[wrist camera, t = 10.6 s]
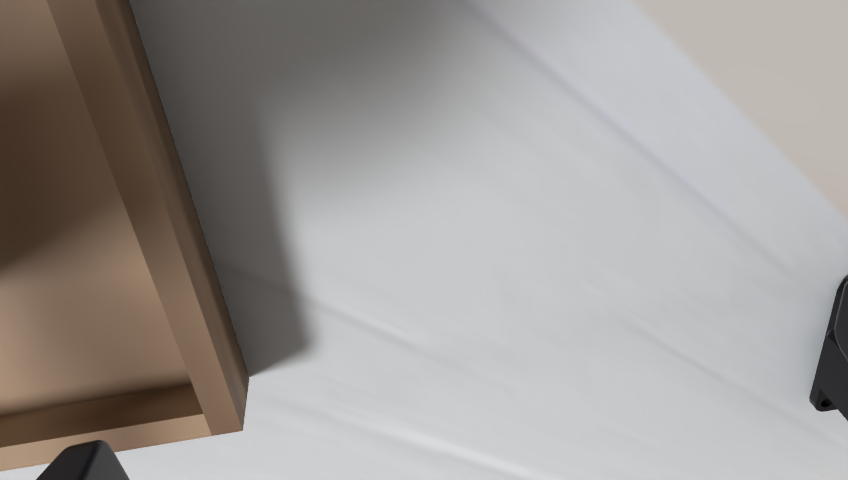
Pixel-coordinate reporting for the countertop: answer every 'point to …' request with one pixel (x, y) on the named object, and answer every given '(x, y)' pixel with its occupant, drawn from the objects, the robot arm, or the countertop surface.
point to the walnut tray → (100, 248)
